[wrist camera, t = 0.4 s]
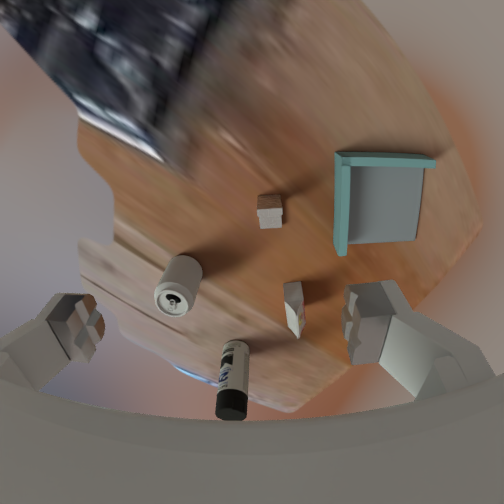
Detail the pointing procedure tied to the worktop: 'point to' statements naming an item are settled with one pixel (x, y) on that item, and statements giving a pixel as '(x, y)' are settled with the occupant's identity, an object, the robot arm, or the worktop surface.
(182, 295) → the can
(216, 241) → the worktop surface
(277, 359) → the worktop surface
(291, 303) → the milk carton
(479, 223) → the worktop surface
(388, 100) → the worktop surface
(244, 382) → the spray can
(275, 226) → the bracket
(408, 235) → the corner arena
